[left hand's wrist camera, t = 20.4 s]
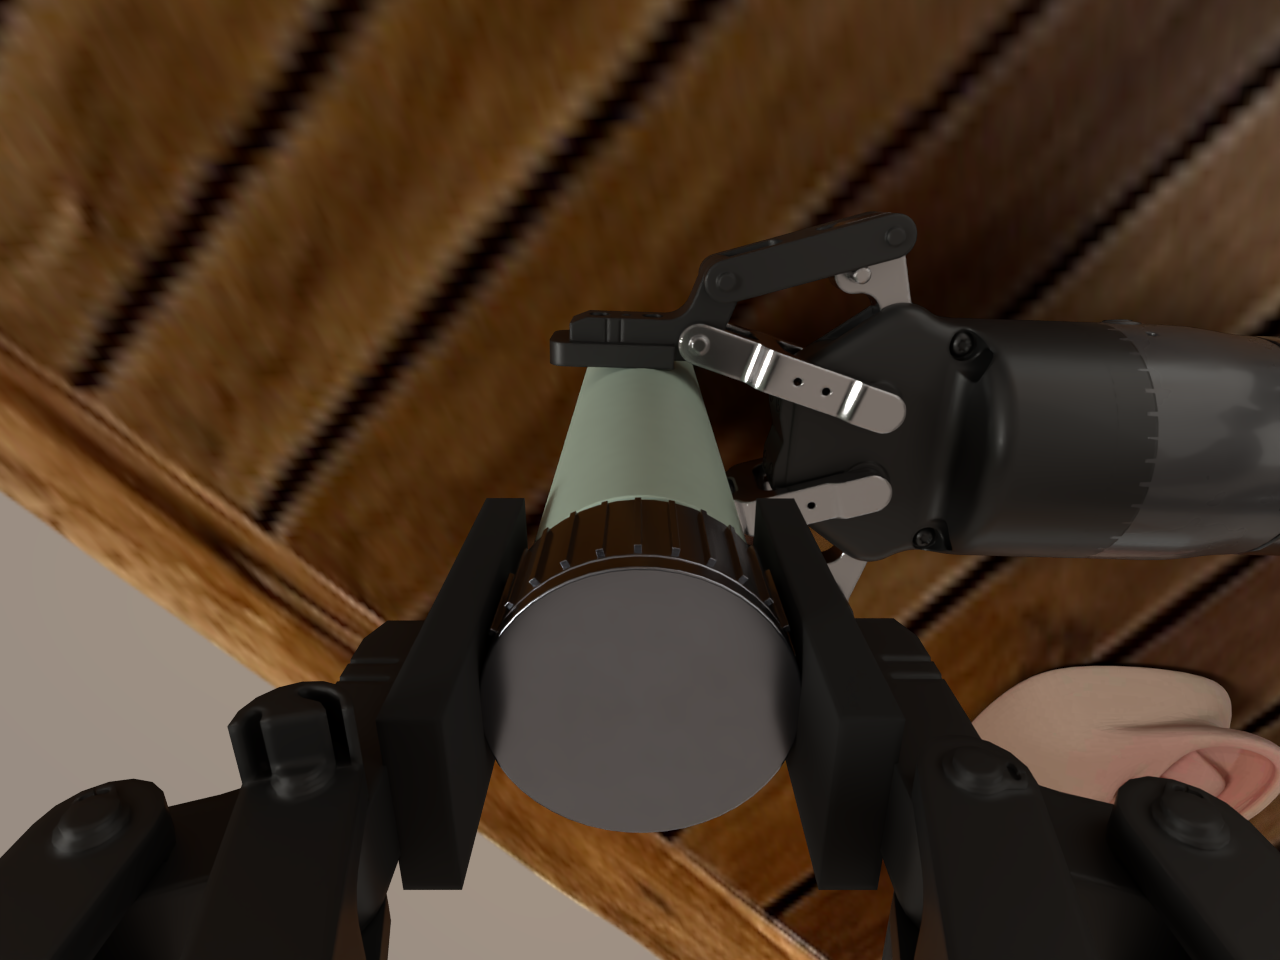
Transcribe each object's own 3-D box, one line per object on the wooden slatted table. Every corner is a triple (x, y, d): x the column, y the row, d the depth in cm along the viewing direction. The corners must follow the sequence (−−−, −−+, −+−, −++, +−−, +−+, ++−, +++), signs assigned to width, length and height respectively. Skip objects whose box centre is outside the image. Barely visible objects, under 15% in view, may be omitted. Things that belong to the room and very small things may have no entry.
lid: (802, 508, 12) (838, 578, 10) (756, 743, 14) (778, 847, 11) (505, 481, 12) (474, 547, 9) (497, 723, 13) (470, 825, 11)
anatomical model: (942, 883, 34) (1049, 687, 30) (912, 815, 38) (1004, 632, 34) (1199, 930, 35) (1335, 746, 31) (1145, 859, 39) (1261, 687, 35)
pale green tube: (588, 321, 29) (497, 545, 10) (697, 326, 29) (797, 557, 10) (585, 426, 30) (503, 779, 12) (689, 431, 30) (764, 788, 12)
